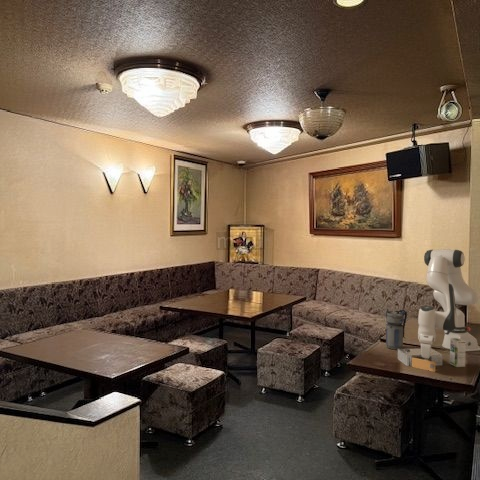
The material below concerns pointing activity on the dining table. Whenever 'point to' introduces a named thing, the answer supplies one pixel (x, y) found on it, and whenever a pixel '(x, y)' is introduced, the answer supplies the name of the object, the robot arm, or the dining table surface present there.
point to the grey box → (418, 356)
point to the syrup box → (457, 352)
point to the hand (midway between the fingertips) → (426, 361)
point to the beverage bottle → (395, 329)
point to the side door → (422, 364)
